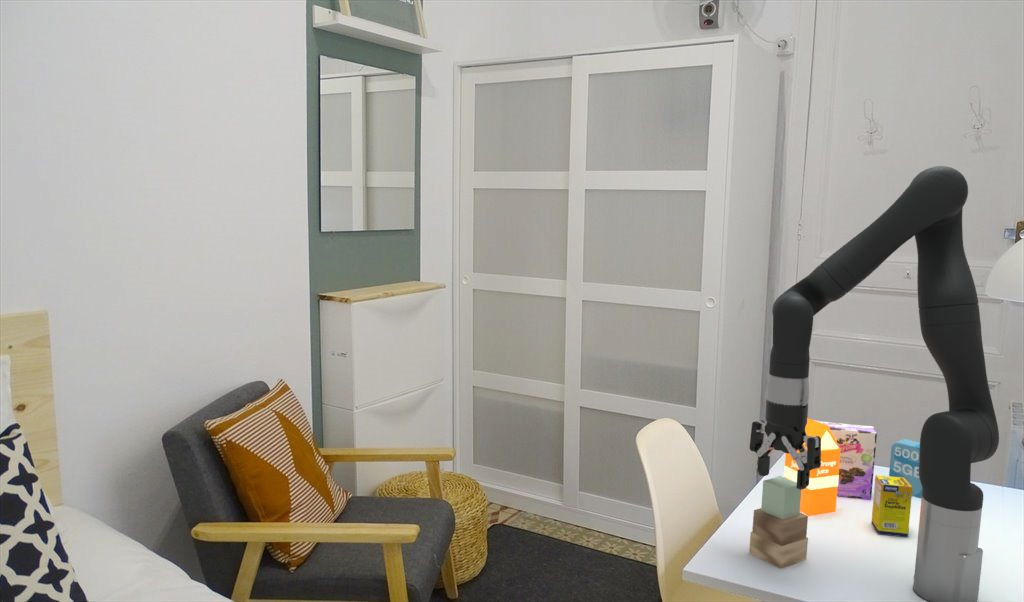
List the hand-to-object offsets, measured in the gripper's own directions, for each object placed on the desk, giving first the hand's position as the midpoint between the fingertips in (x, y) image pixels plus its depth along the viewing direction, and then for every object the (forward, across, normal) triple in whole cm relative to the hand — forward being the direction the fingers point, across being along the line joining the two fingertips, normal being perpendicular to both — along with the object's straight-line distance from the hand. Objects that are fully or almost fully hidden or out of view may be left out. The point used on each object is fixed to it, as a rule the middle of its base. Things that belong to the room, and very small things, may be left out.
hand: (782, 481), depth 150 cm
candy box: (+15, -15, +42) cm, 47 cm away
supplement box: (+15, +4, +32) cm, 35 cm away
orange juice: (+15, -13, +28) cm, 34 cm away
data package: (+15, -4, +58) cm, 60 cm away
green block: (+6, 0, 0) cm, 6 cm away
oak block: (+15, 0, 0) cm, 15 cm away
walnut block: (+11, 0, 0) cm, 11 cm away
